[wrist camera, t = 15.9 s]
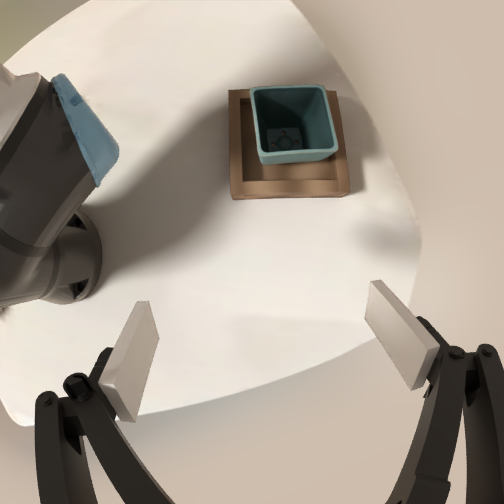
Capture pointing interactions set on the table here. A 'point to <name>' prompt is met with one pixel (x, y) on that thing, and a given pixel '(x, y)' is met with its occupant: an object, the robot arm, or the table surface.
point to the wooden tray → (281, 175)
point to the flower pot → (292, 123)
